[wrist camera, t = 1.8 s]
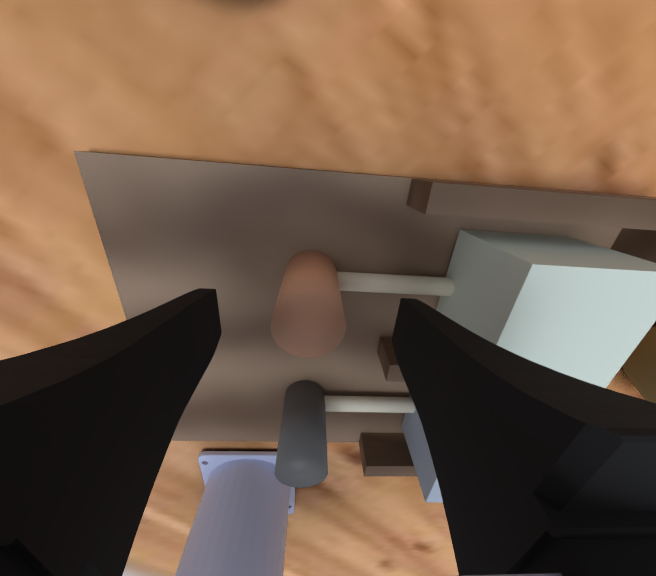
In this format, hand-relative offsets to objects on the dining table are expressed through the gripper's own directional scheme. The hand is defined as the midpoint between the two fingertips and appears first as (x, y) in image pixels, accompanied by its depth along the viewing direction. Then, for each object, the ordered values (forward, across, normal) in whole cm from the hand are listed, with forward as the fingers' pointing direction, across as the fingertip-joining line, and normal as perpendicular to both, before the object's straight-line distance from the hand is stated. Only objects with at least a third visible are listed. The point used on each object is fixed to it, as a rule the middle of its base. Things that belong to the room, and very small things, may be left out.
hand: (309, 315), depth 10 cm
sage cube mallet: (+4, -6, 0) cm, 7 cm away
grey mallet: (+4, -6, +9) cm, 12 cm away
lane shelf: (+5, -4, +5) cm, 8 cm away
